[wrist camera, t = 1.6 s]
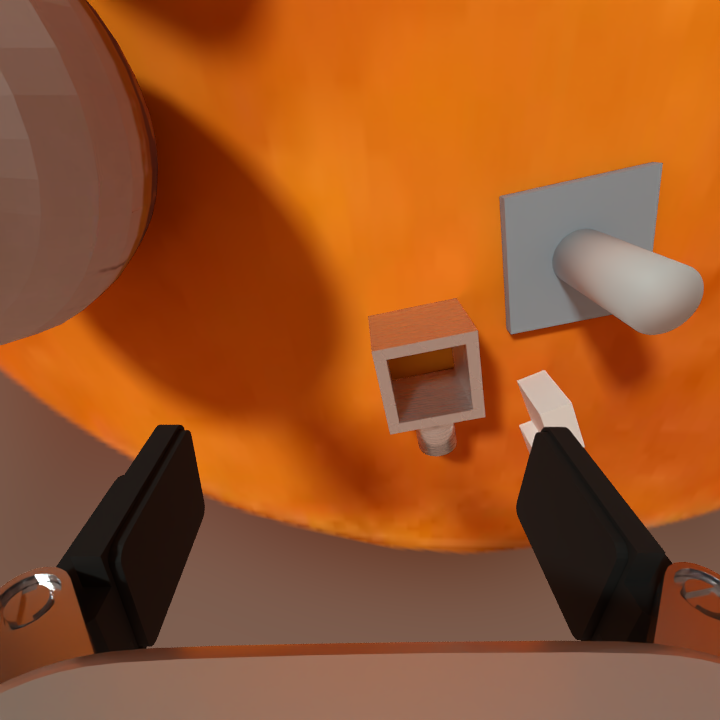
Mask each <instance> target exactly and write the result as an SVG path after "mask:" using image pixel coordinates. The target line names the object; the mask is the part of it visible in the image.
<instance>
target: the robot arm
mask: <svg viewBox="0 0 720 720" xmlns="http://www.w3.org/2000/svg"><path fill="white" fill-rule="evenodd" d="M204 508H205V505H204V499H203V493H202V488H201V483H200V478H199V473H198V467H197V462H196V457H195V452H194V446H193V441H192V436H191V432H190V431H189V430H184V427H183V426H182V425H158V426H157V427H156V428H155V430H154V431H153V433H152V434H151V436H150V437H149V439H148V440H147V442H146V443H145V445H144V446H143V448H142V449H141V451H140V452H139V454H138V455H137V457H136V458H135V460H134V461H133V463H132V464H131V466H130V467H129V469H128V470H127V472H126V473H125V475H122V476H120V477H118V478H117V480H116V481H115V482H114V483H113V485H112V486H111V488H110V489H109V490H108V492H107V493H106V495H105V496H104V498H103V499H102V501H101V502H100V504H99V505H98V507H97V508H96V510H95V511H94V512H93V514H92V515H91V517H90V518H89V520H88V521H87V523H86V524H85V526H84V527H83V528H82V530H81V531H80V533H79V534H78V536H77V537H76V539H75V540H74V542H73V543H72V545H71V546H70V547H69V549H68V550H67V552H66V554H65V555H64V556H63V558H62V559H61V561H60V562H59V564H58V565H57V566H56V567H43V568H38V569H34V570H31V571H28V572H26V573H23V574H21V575H19V576H17V577H15V578H14V579H12V580H10V581H9V582H7V583H6V584H5V585H3V586H2V587H1V588H0V720H720V575H719V574H717V573H715V572H713V571H712V570H710V569H708V568H705V567H702V566H700V565H697V564H693V563H687V562H679V563H674V564H672V562H671V561H670V560H669V559H668V557H667V556H666V555H665V552H664V550H663V549H662V548H661V547H660V545H659V544H658V543H657V541H656V540H655V539H654V537H652V535H651V534H650V532H649V531H648V530H647V528H646V527H645V526H644V525H643V523H642V522H641V521H640V520H639V518H638V517H637V516H636V514H635V513H634V512H633V511H632V509H631V508H630V507H629V505H628V504H627V503H626V502H625V500H624V499H623V498H622V496H621V495H620V494H619V493H618V491H617V490H616V489H615V487H614V486H613V485H612V484H611V482H610V481H609V480H608V478H607V477H606V476H605V475H604V473H603V472H602V471H601V469H600V468H599V467H598V466H597V464H596V463H595V462H594V461H593V459H592V458H591V457H590V455H589V454H588V453H587V452H586V450H585V449H584V448H583V446H582V445H581V444H580V443H579V441H578V440H577V439H576V437H575V436H574V435H573V434H572V432H571V431H570V430H569V429H568V428H567V427H543V429H542V430H541V432H537V433H536V434H535V437H534V440H533V444H532V448H531V452H530V455H529V459H528V463H527V466H526V470H525V474H524V478H523V481H522V485H521V489H520V493H519V496H518V500H517V505H516V509H517V515H518V518H519V520H520V522H521V524H522V527H523V529H524V531H525V533H526V535H527V537H528V540H529V542H530V544H531V546H532V548H533V550H534V553H535V555H536V557H537V559H538V561H539V564H540V566H541V568H542V570H543V572H544V574H545V577H546V579H547V581H548V583H549V585H550V587H551V590H552V592H553V594H554V596H555V598H556V600H557V603H558V605H559V607H560V609H561V611H562V613H563V616H564V618H565V620H566V622H567V624H568V627H569V629H570V630H571V633H572V635H573V636H574V637H575V639H577V640H581V641H491V642H490V641H486V642H485V641H484V642H403V643H402V642H401V643H336V644H288V645H287V644H284V645H239V646H238V645H236V646H200V647H174V648H150V649H146V647H147V646H152V645H154V643H155V642H156V640H157V637H158V635H159V632H160V629H161V627H162V624H163V621H164V619H165V616H166V614H167V611H168V608H169V606H170V603H171V601H172V598H173V595H174V593H175V590H176V587H177V585H178V582H179V580H180V577H181V574H182V572H183V569H184V567H185V564H186V561H187V558H188V556H189V553H190V551H191V548H192V546H193V543H194V540H195V538H196V535H197V532H198V530H199V527H200V525H201V522H202V519H203V516H204V510H205V509H204Z"/></svg>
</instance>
